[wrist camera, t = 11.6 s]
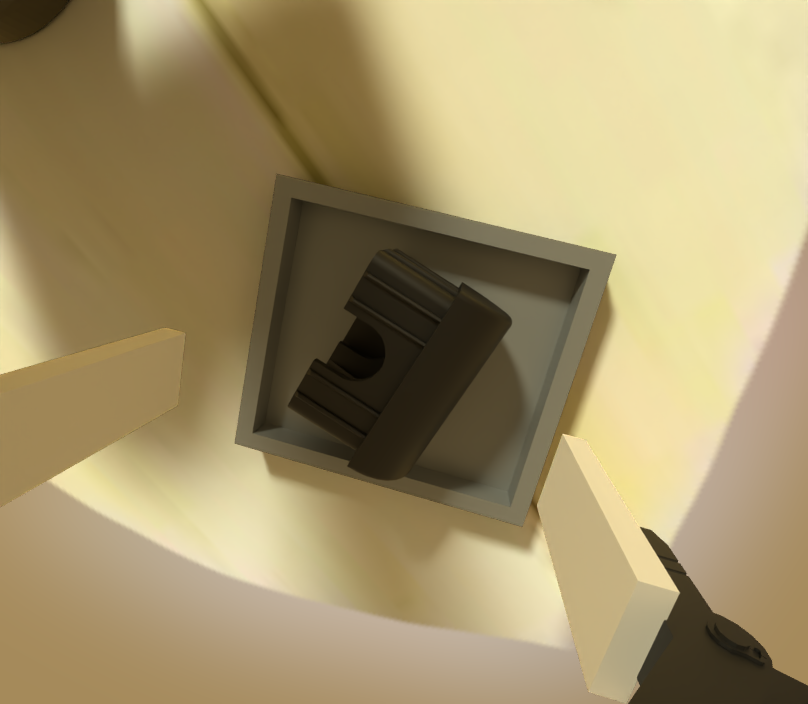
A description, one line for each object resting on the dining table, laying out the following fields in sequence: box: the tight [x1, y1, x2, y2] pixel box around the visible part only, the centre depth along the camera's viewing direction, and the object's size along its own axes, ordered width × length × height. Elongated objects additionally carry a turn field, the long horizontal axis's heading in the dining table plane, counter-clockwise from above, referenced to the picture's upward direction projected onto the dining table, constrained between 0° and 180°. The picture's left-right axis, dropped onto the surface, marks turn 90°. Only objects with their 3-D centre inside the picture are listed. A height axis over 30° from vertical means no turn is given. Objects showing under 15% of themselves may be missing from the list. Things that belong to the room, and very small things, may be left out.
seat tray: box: [235, 174, 616, 527], centre depth 27 cm, size 18×16×3 cm
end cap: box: [288, 248, 512, 481], centre depth 24 cm, size 10×7×7 cm
